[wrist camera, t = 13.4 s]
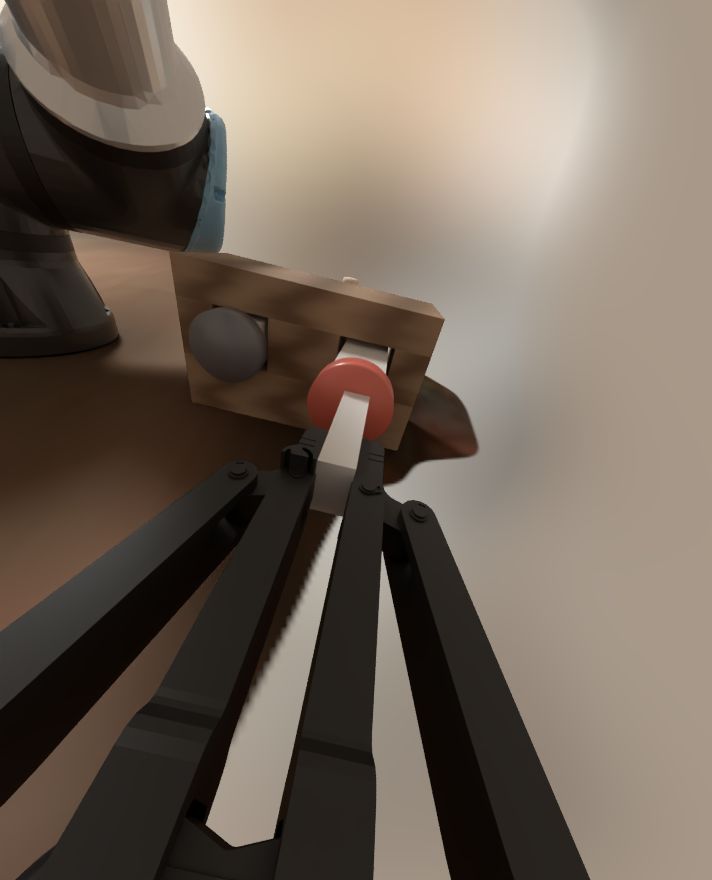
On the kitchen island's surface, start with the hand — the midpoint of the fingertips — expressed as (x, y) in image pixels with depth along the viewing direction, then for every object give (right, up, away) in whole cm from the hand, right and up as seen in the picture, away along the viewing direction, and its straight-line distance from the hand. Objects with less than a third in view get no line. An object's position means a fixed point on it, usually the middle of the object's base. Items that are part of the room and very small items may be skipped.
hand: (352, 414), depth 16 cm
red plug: (0, +2, +7) cm, 7 cm away
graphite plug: (-9, +6, +10) cm, 15 cm away
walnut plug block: (-5, +2, +13) cm, 14 cm away
